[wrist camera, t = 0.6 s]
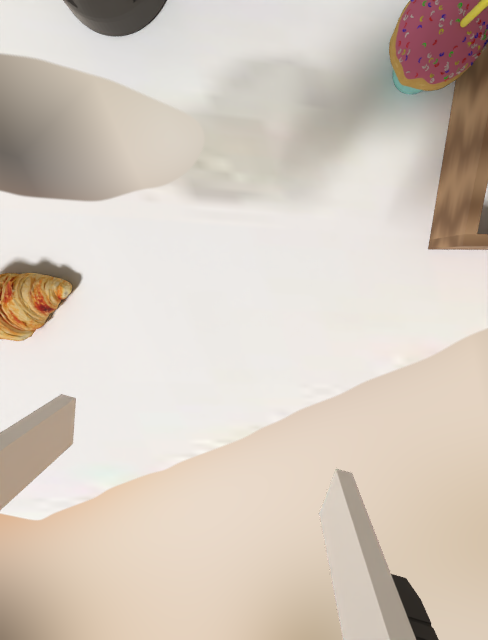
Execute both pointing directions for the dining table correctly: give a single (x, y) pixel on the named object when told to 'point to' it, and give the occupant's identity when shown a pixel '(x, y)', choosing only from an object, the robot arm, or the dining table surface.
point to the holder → (464, 164)
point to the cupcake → (437, 42)
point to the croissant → (28, 302)
